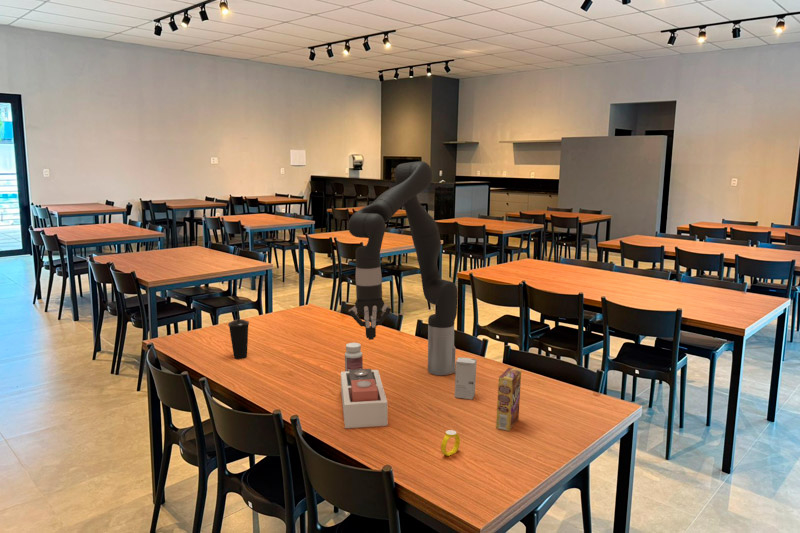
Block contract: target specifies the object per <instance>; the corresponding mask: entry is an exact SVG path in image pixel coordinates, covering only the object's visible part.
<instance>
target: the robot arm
mask: <svg viewBox="0 0 800 533" xmlns="http://www.w3.org/2000/svg"><path fill="white" fill-rule="evenodd" d="M432 180H433V170H432V168H431V166H430V165H429V163H427V162H426V161H411V162H403V163H400V164H399V163H398V165H397V166H396V167H395V170H394V181H395V184H396V185H395V186H393V187H390V188H388V189H387V190H385V191H383V193H381V194H380V195H378V197H377V198H375V200H373V201H372V203H370V204H368V205H366V206H364V207H362V208H360V209H358V210H357V211H355V212H354V213H353V214H352V215H351V216H350V218H349V220H348V225H347V229H348V232H349V233H350V235H352V236H353V237H355V238H362V239H363V238H365V239H368V241H367V243H366V245H361V246H360V245H359V246H358V247H357V248H356V249H355V290H356V291H355V294H356V295H355V296H356V300H355V303H354V306H353V307H351V308H349V309H348V314H349V316H351V317H352V319H353V320H354V321H355V322H356V323H357V324H358V325H359V326H360V327H364V328H365V337H366V339H368V340H369V341H372V340H374V339H375V338H376V336H377V331H376V330H377V329H376V328H377V327H378V326H381V325H382V324H383V322H384V321H385V320H386V319H387V317H388V316H389V315H390V313H391V312H392V308H391V306H389V305H386V304H385V301H384V300H383V283H382V282H383V278H382V276H383V275H382V269H381V250H382V246H383V245H382V244H383V241H384V240H383V239H384V235H385V233H386V223H387V222H388V221H390V219H391V218H392V217H393V216H394V215H395V214H396V213H398V211H399V210H400V209H401V208H402V207H403V208H404V211H405V214H406V217H407V218H406V219H407V221H408V226H409V229H410V234H411V239H412V242H413V247H414V250H415V252H416V258H417V263H418V267H419V273H420V277H421V279H420V280H421V286H422V293H423V296H424V298H425V300H426V301H427V302H428V303H430V304H431V305H435V306H436V312H435V313H433V314H431V315H429V316H428V319H427V324H428V325H427V328H428V329H427V332H428V334H427V372H428V373H430V374H431V375H435V376H449V375H450V374H455V373H456V352H457V351H456V346H455V320H456V319H457V315H458V303H459V302H458V300H459V292H458V288H457V285H456V283H455V282H453V281H449V280H446V279H443V278H441V276H440V272H439V268H438V259H439V255H440V252H441V247H442V241H441V236H440V231H439V226H438V224H437V222H436V221H435V219H434V218H433V217H432V215H431V214H430V213H429V212H428V211H427V210H426V209H425V208H424V207H423V205H422V203H420V201H419V198H418V196H417V195H419V194H420V193H422V192H424V191H425V190H426V189H427V188H429V187H430V186H431V183H432ZM381 311H382V312H381ZM358 312H359V313H360V314H361V315H362V316H363V317H364V318H363V319H364V320H363V319H361V317H359V315H358ZM380 312H381V314H380V315H379V313H380ZM378 315H379V316H378ZM377 316H378V318H377Z"/></svg>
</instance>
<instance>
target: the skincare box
mask: <svg viewBox="0 0 800 533" xmlns="http://www.w3.org/2000/svg"><path fill="white" fill-rule="evenodd" d="M454 375H455V379H454V380H455V381H454V398H458V399H466V400H473V399H474V398H475V395H476V381H477V380H476V377H477V358H470V357H458V358H457V359H456V360H455V373H454Z"/></svg>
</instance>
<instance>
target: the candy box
mask: <svg viewBox="0 0 800 533" xmlns="http://www.w3.org/2000/svg"><path fill="white" fill-rule="evenodd" d="M521 380H522V369H520V368H514V367H507V369H506V370H505V371H504V372H502V373H501V375H500V376H498V386H497V388H498V389H497V401H496V404H497V405H496V421H495V422H496V423H495V424H496V425H495V428H496V429H499V430H503V431H506V432H510V431H511V429H512V428H513V426H515V424H516V423H517V422H518V420H519V419H520V418H519V417H520V403H521V402H520V401H521V400H520V399H521V385H522V384H521V383H522V381H521Z"/></svg>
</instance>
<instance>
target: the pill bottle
mask: <svg viewBox="0 0 800 533" xmlns="http://www.w3.org/2000/svg"><path fill="white" fill-rule="evenodd" d="M361 350H362V345H361V343H358V342H349V343H347V344H346V345H345V353H344V372H345V371H349V370H354V369H364V367H363V366H364V363H363V362H364V361H363V352H362V351H361Z"/></svg>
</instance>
